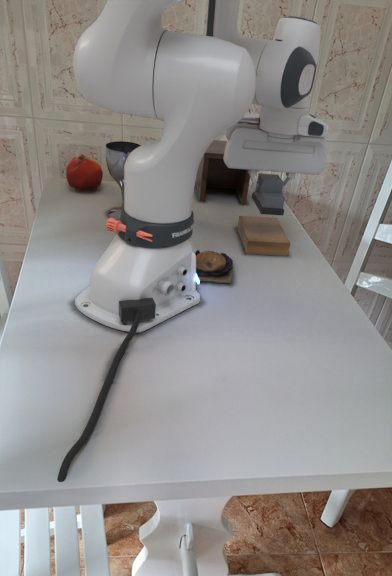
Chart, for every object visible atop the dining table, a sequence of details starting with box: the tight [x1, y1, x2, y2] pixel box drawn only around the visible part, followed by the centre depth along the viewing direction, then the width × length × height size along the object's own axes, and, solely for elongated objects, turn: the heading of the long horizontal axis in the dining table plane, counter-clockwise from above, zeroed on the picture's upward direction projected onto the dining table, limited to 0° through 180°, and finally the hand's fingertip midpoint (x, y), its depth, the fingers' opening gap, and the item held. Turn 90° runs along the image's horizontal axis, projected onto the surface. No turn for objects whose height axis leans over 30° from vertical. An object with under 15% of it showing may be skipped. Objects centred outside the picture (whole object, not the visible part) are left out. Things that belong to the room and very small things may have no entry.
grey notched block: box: [251, 172, 286, 217], centre depth 100 cm, size 10×5×6 cm, turn 5°
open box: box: [195, 139, 251, 205], centre depth 125 cm, size 12×12×12 cm
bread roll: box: [195, 249, 234, 284], centre depth 94 cm, size 11×8×4 cm
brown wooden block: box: [236, 215, 291, 257], centre depth 107 cm, size 13×9×3 cm
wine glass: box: [104, 140, 141, 221], centre depth 108 cm, size 8×8×15 cm
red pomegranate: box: [65, 153, 104, 191], centre depth 121 cm, size 9×9×8 cm
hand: (268, 192), depth 101 cm, fingers closed on grey notched block, 4 cm apart
